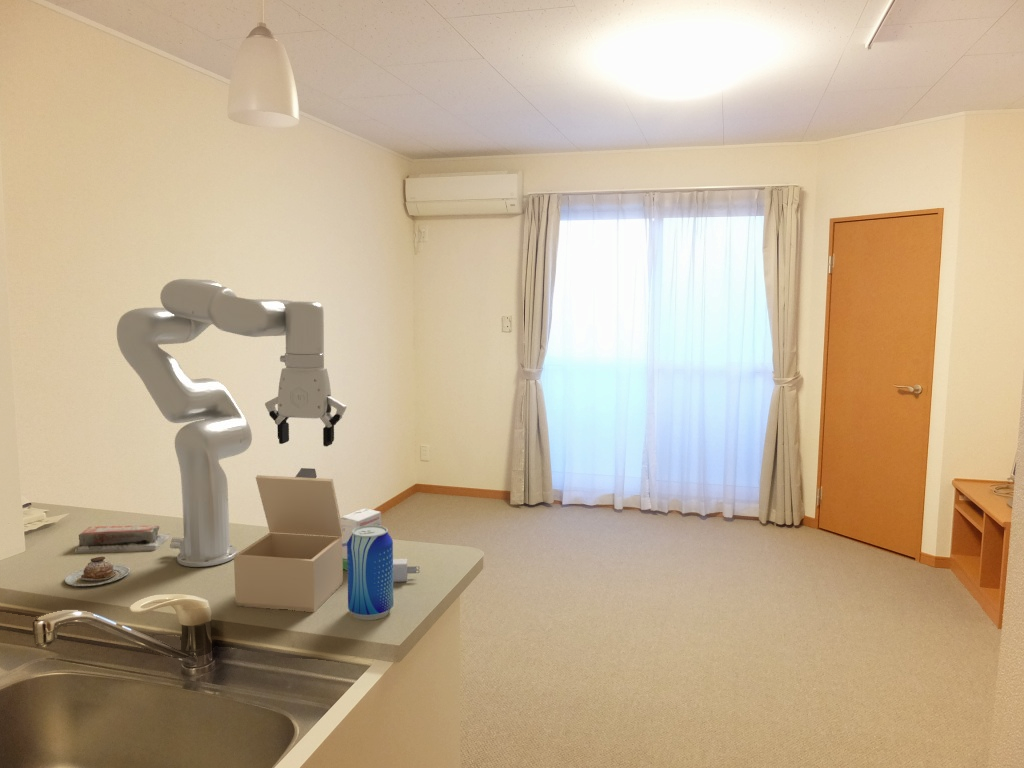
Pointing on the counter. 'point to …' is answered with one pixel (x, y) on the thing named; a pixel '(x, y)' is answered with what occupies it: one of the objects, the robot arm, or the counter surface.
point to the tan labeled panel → (300, 504)
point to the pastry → (97, 572)
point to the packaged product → (120, 539)
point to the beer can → (370, 572)
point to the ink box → (353, 522)
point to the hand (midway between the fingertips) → (305, 443)
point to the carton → (288, 572)
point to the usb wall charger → (402, 570)
